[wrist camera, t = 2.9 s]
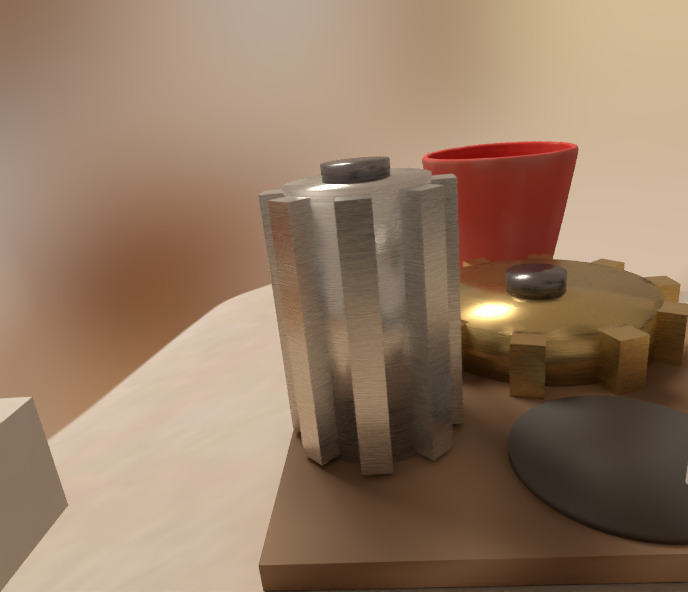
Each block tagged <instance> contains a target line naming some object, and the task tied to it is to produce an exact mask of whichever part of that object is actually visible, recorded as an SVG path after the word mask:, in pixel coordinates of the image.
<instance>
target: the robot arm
mask: <svg viewBox="0 0 688 592" xmlns="http://www.w3.org/2000/svg"><path fill="white" fill-rule="evenodd" d="M685 482H686V483H687V484H688V466H687V473H686V481H685ZM67 506H68V503H67V500H66V497H65V494H64V491H63V488H62V485H61V482H60V479H59V476H58V473H57V470H56V467H55V464H54V461H53V458H52V455H51V452H50V449H49V446H48V443H47V439H46V437H45V433H44V430H43V428H42V424H41V421H40V418H39V415H38V412H37V409H36V406H35V403H34V400H33V397H20V398H2V399H0V592H1V590H2V589H3V588H4V586H5V585H6V584H7V583H8V581H9V580H10V579H11V578H12V576H13V575H14V574H15V572H16V571H17V570H18V569H19V567H20V566H21V565H22V563H23V562H24V561H25V560H26V558H27V557H28V556H29V555H30V553H31V552H32V551H33V549H34V548H35V547H36V546H37V544H38V543H39V542H40V540H41V539H42V538H43V537H44V535H45V534H46V533H47V531H48V530H49V529H50V528H51V526H52V525H53V524H54V523H55V521H56V520H57V519H58V517H59V516H60V515H61V514H62V512H63V511H64V510H65V508H66V507H67Z"/></svg>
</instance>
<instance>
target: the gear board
mask: <svg viewBox="0 0 688 592" xmlns="http://www.w3.org/2000/svg"><path fill="white" fill-rule="evenodd" d="M462 391H463V424H452V436H453V447H452V448H450V449H449V450H448V451H446V452H445V453H444V454H442V455H441V456H440V457H438V458H437V459H436V460H434V461H433V460H431V459H429V458H427V457H426V456H424V455H422V454H418V455H416V456H414V457H412V458H409V459H406V460H403V461H399V462H394V463H393V474H372V475H362V472H361V464H358V463H352V462H348V461H345V460H342V459H339V458H337V457H335V458H334V459H332V460H330V461H329V462H327V463H326V464H324V465H323V466H322V465H320V464H319V463H317V462H316V461H314V460H313V459H311V458H310V457H308V456H307V455H305V454H304V451H303V444H302V437H301V432H294V431H293V435H292V439H291V442H290V446H289V450H288V454H287V458H286V462H285V465H284V469H283V473H282V477H281V481H280V485H279V489H278V492H277V496H276V500H275V504H274V508H273V512H272V515H271V519H270V523H269V527H268V531H267V535H266V539H265V542H264V546H263V550H262V554H261V558H260V562H259V570H260V575H261V581H262V586H263V591H294V590H338V589H382V588H426V587H470V586H514V585H558V584H602V583H646V582H688V484H687V483H686V482H685V481H686V473H687V466H688V347H687V355H686V357H685V359H684V362H683V364H682V366H681V367H679V366H674V365H669V364H663V363H658V362H653V361H652V362H651V363H650V364H649V365H647V371H646V380H645V389H643V390H639V391H634V392H630V393H626V394H622V395H618V396H616V395H614V394H612V393H611V392H609V391H608V390H606V389H605V388H603V387H602V386H600V385H598V384H591V385H581V386H565V387H547V386H545V394H544V400H541V399H531V398H522V397H512V396H509V395H510V383H507V382H500V381H496V380H492V379H487V378H483V377H480V376H477V375H473V374H470V373H468V372H466V373H464V374H462Z"/></svg>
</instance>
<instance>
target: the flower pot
mask: <svg viewBox="0 0 688 592" xmlns="http://www.w3.org/2000/svg"><path fill="white" fill-rule="evenodd" d="M577 155H578V146H577V145H575V144H571V143H565V142H540V141H538V142H536V141H532V142H507V143H494V144H482V145H473V146H465V147H459V148H452V149H446V150H441V151H436V152H433V153H430V154H427V155H425V156H423V158H422V163H423V168H424V169H425V170H429V171H431V173H432V175H444V174H454V175H455V176H456V177H457V194H458V234H459V268H463V261H467V260H472V259H478V258H484V259H486V260H489V261H491V262H495V261H505V260H519V259H528V256H529V254H552V259H553V255H554V251H555V247H556V243H557V240H558V235H559V232H560V227H561V224H562V220H563V216H564V212H565V207H566V202H567V199H568V194H569V190H570V186H571V181H572V177H573V172H574V169H575V164H576V159H577Z"/></svg>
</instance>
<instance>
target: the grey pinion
mask: <svg viewBox="0 0 688 592" xmlns="http://www.w3.org/2000/svg"><path fill="white" fill-rule="evenodd" d="M320 167H321V175H319V176H314V177H309V178H304V179H300V180H295V181H292V182H289V183H286V184H284V185H283V186H282V189H278V190H267V191H264V192H263V193H261V194H260V195H259V201H260V208H261V214H262V221H263V228H264V235H265V242H266V248H267V255H268V262H269V268H270V275H271V282H272V289H273V295H274V302H275V309H276V315H277V322H278V329H279V336H280V342H281V349H282V356H283V362H284V369H285V376H286V383H287V389H288V396H289V403H290V409H291V416H292V423H293V430H294V432H301V437H302V444H303V451H304V454H305V455H307V456H308V457H310V458H311V459H313V460H314V461H316V462H317V463H319V464H320V465H322V466H323V465H324V464H326V463H327V462H329V461H330V460H332V459H334V458H335V457H337V458H339V459H342V460H345V461H348V462H352V463H358V464H361V472H362V475H372V474H393V463H394V462H399V461H403V460H406V459H409V458H412V457H414V456H416V455H418V454H422V455H424V456H426V457H427V458H429V459H431V460H433V461H434V460H436V459H437V458H438V457H440V456H441V455H442V454H444V453H445V452H446V451H448V450H449V449H450V448H452V447H453V436H452V424H463V391H462V352H461V312H460V273H459V234H458V194H457V177H456V176H455V175H454V174H444V175H432V173H431V171H429V170H425V169H414V168H390V160H389V157H363V158H352V159H343V160H336V161H331V162H325V163H322V164H320Z"/></svg>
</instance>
